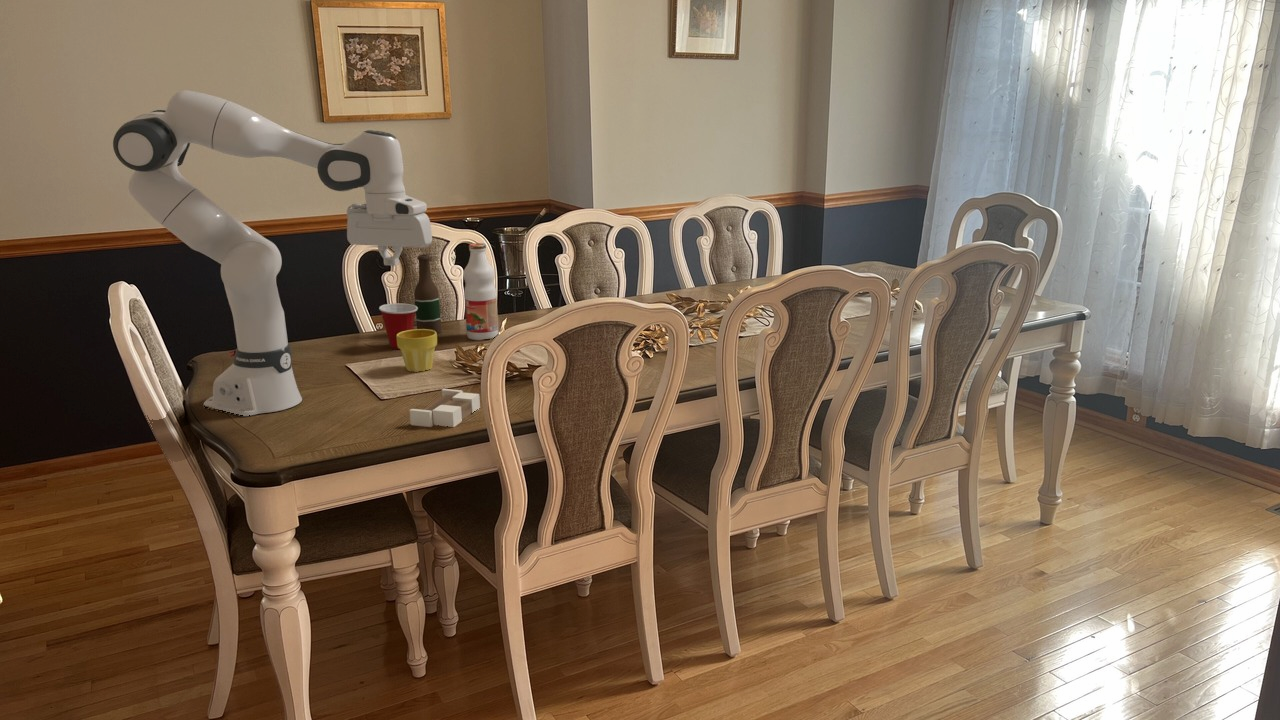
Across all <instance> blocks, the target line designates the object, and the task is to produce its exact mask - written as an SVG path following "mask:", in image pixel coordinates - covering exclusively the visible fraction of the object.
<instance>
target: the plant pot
mask: <svg viewBox="0 0 1280 720" xmlns="http://www.w3.org/2000/svg"><path fill="white" fill-rule="evenodd" d="M397 346H398V348H400V349H399V350H400V352H401V355H402V359H403V362H404V366H405V369H406V370H407V371H408V372H411V371H414V372H413V373H420V372H419V371H423V372H426V371H425V370H428V369H430V370H432V368H433V362H434V355H435V348H436V346H438V334H437V333H436V331H434V330H429V329H417V328H415V329H414V328H413V330H407V331H403V332H400V333H398V334H397ZM428 371H429V370H428Z"/></svg>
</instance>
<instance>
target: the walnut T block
mask: <svg viewBox="0 0 1280 720" xmlns="http://www.w3.org/2000/svg"><path fill="white" fill-rule="evenodd" d="M453 396H455V395H445V396H443V397H442V396H441V397H440V398H438V399H437V400H435V401H433V402H432V403H431V404H428V406H426V407H424V408H423V409H422V410H430V411H432V419H433V410H434V409H435V408H437V407H438V406H440V405H450V406H460V407H461V413H462V421H463V420H465V419H466V418H467V416H468V415H469V414H470V415H471V412H470V402H465V401H452V397H453ZM470 415H469V416H470ZM469 416H468V417H469ZM464 418H465V419H464Z"/></svg>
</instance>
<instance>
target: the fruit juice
mask: <svg viewBox="0 0 1280 720" xmlns="http://www.w3.org/2000/svg"><path fill="white" fill-rule="evenodd" d="M468 249H469V252H470V253H469V254H470V256H469V260H468V263H467V265H466V266H465V268H464V269H463V279H464V282H465V286H464V292H463V293H464V309H465V310H464V311H465V325H466V327H465V328H466V336H467V338H468V339H469V340H473V341H482V340H481V339H488V338H492V337H493V338H494V337H495V336H496V335H497V334H498V335H499V319H498V318H499V315H498V302H497V301H498V299H497V289H496V286H495V278H496V272H495V269H494V267H493V266H492V265H491V264H490V262H489V260H488V258H487V255H486V250H487V245H486V243H483V242H473V243H470V244H468ZM493 338H492V339H491V340H493ZM494 339H495V338H494Z"/></svg>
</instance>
